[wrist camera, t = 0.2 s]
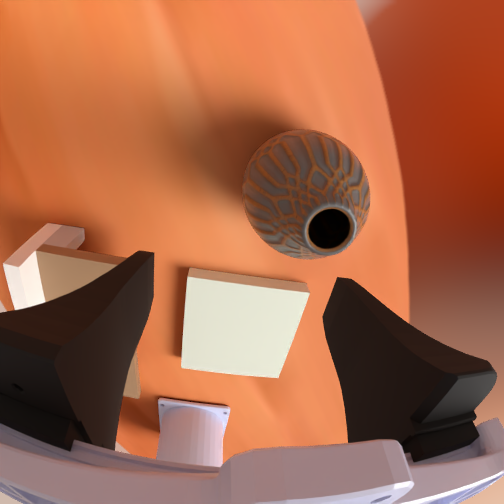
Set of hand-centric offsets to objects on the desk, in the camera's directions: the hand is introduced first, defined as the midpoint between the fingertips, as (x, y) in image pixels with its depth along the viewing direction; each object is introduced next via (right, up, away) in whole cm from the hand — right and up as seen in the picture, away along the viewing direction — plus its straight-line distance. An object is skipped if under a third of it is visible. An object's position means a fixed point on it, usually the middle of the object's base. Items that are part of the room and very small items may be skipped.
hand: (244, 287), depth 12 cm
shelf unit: (-13, -3, +12) cm, 18 cm away
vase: (+3, +6, +8) cm, 11 cm away
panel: (-1, -5, +14) cm, 15 cm away
